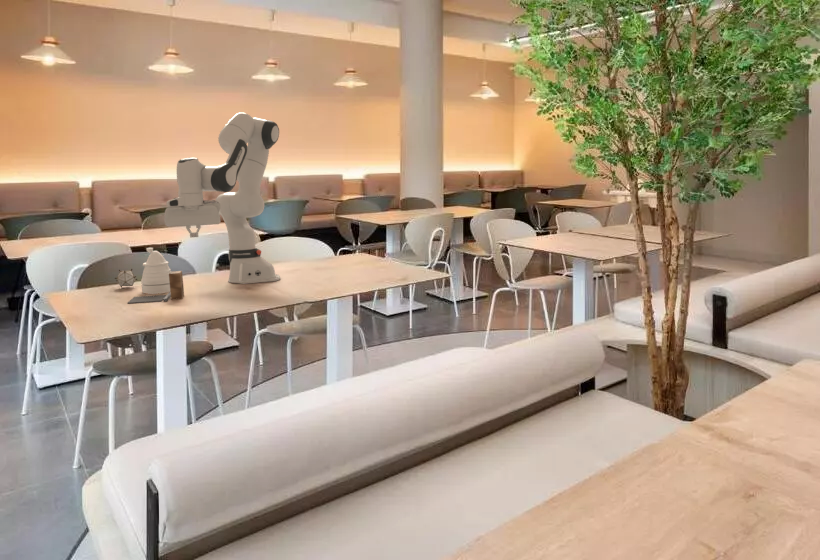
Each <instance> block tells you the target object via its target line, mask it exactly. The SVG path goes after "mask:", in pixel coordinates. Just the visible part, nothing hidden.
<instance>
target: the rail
mask: <svg viewBox="0 0 820 560" xmlns="http://www.w3.org/2000/svg"><path fill="white" fill-rule="evenodd" d="M165 295H166V296H165V297H164V299H163V300H162V301H163V302H164V303H165V302H167V303H168V301H169V300H170V299H171V292H167V294H165Z"/></svg>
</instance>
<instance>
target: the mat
mask: <svg viewBox="0 0 820 560" xmlns="http://www.w3.org/2000/svg"><path fill="white" fill-rule="evenodd" d="M166 295H167V294H160V295H159V294H158V295H156V294H154V295H141V296H133V297H132V298H131V299H130V300H128V301H127V305H128V304H145V303H156V302H158V303H159V302H163V301H164V300H163V299H164V297H165V296H166Z"/></svg>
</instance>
